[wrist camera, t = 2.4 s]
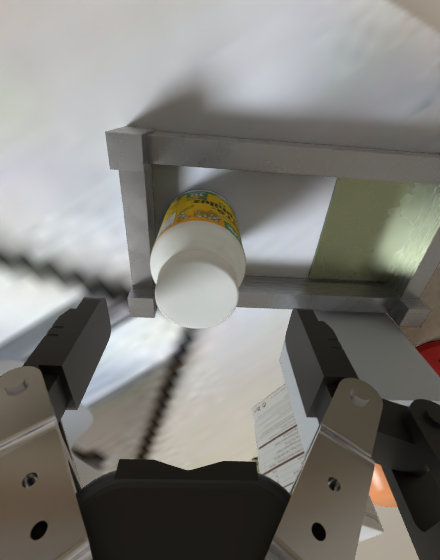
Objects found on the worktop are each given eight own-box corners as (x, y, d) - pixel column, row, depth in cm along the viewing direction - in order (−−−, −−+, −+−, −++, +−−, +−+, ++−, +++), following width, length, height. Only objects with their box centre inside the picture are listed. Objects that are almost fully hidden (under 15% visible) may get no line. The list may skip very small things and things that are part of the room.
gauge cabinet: (279, 360, 30) (306, 461, 21) (295, 301, 25) (338, 399, 17) (352, 361, 30) (407, 461, 22) (380, 304, 26) (463, 401, 17)
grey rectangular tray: (141, 286, 24) (130, 316, 21) (125, 126, 17) (105, 131, 14) (392, 297, 25) (420, 327, 22) (466, 153, 19) (522, 164, 15)
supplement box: (332, 399, 34) (388, 534, 23) (289, 426, 37) (321, 556, 26) (291, 377, 31) (333, 517, 21) (248, 408, 34) (266, 544, 24)
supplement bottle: (152, 230, 21) (117, 308, 13) (191, 171, 19) (177, 221, 11) (209, 265, 23) (209, 353, 15) (250, 215, 21) (276, 287, 13)
